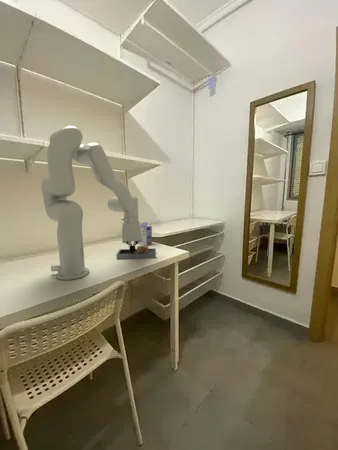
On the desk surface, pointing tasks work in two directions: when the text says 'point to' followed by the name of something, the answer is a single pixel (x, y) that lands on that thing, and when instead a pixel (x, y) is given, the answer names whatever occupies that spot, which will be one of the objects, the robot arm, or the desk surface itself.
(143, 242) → the ink cartridge box
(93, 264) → the desk surface
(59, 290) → the desk surface
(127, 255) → the dark grey tray
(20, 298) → the desk surface
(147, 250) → the walnut block
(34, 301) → the desk surface
